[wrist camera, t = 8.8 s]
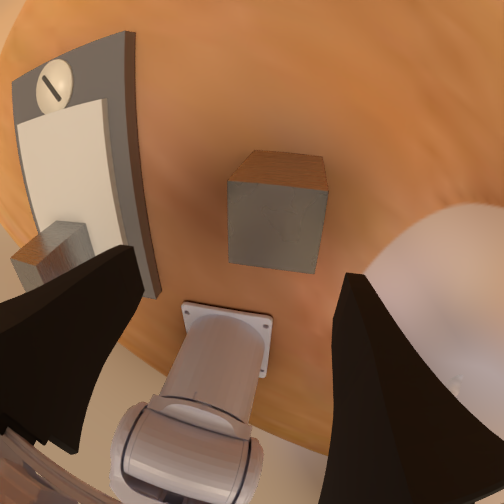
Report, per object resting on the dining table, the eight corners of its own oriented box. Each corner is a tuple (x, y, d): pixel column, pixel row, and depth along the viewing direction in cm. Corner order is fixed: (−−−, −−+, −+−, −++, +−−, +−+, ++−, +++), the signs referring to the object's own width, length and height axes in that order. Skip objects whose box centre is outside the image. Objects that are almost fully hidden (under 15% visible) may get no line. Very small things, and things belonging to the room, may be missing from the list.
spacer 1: (97, 264, 21) (56, 310, 16) (68, 258, 22) (29, 298, 17) (85, 222, 19) (35, 265, 14) (56, 220, 20) (10, 258, 15)
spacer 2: (314, 217, 17) (314, 274, 13) (252, 210, 18) (228, 262, 13) (322, 156, 15) (328, 191, 10) (254, 149, 16) (227, 180, 11)
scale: (161, 290, 24) (153, 304, 22) (59, 267, 26) (50, 276, 24) (135, 32, 12) (119, 29, 11) (21, 79, 14) (7, 83, 13)
